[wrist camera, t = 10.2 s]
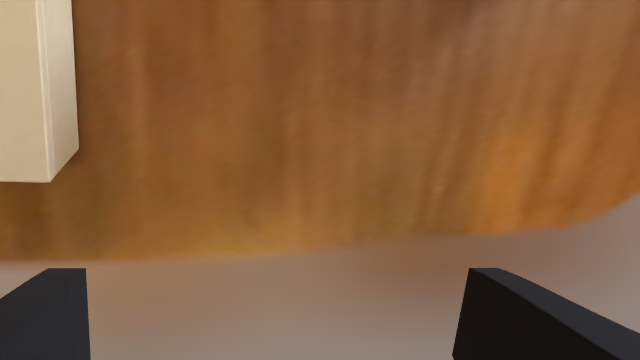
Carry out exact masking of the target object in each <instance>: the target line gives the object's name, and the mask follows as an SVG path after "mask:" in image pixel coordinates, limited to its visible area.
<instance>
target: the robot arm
mask: <svg viewBox="0 0 640 360" xmlns="http://www.w3.org/2000/svg"><path fill="white" fill-rule="evenodd" d="M86 285H87V284H86V269H85V268H48V269H47V270H45V271H43V272H41V273H39V274H38V275H36V276H34V277H33V278H31V279H30V280H28V281H27V282H25V283H23V284H22V285H20V286H19V287H17V288H16V289H15V290H13V291H11V292H10V293H8V294H7V295H5V296H4V297H2V298H1V299H0V360H90V341H89V323H88V303H87V286H86ZM452 356H453V358H454V360H640V333H637V332H635V331H633V330H631V329H628V328H626V327H624V326H622V325H620V324H618V323H615V322H613V321H611V320H609V319H607V318H605V317H603V316H601V315H598V314H597V313H594V312H592V311H590V310H588V309H586V308H584V307H582V306H580V305H578V304H576V303H574V302H572V301H570V300H568V299H566V298H564V297H562V296H560V295H558V294H556V293H554V292H552V291H550V290H547V289H546V288H543V287H541V286H539V285H537V284H535V283H533V282H531V281H528V280H526V279H524V278H522V277H520V276H517V275H515V274H513V273H510V272H508V271H505V270H501V269H498V268H469V272H468V277H467V282H466V287H465V293H464V297H463V303H462V307H461V312H460V318H459V323H458V328H457V333H456V338H455V343H454V348H453V353H452Z"/></svg>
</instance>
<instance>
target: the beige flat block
mask: <svg viewBox="0 0 640 360" xmlns="http://www.w3.org/2000/svg"><path fill="white" fill-rule="evenodd" d="M78 149H79V139H78V120H77V101H76V82H75V64H74V45H73V26H72V7H71V0H0V181H2V182H40V183H49V182H51V180H52V179H53V178H54V176H55V175H56V174H57V173H58V172H59V171H60V170H61V169H62V167H63V166H64V165H65V164H66V163H67V162H68V161H69V159H70V158H71V157H72V156H73V155H74V154H75V153H76V152H77V150H78Z"/></svg>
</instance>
